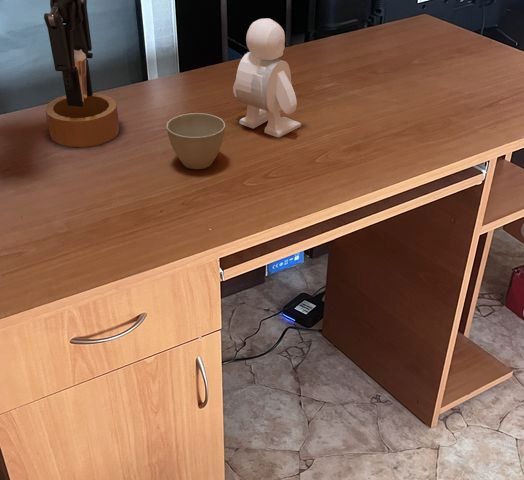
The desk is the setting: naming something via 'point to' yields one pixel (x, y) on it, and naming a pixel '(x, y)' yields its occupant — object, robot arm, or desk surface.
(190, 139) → the flower pot
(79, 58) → the milkshake
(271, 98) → the toy robot
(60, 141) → the tape
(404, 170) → the desk surface
